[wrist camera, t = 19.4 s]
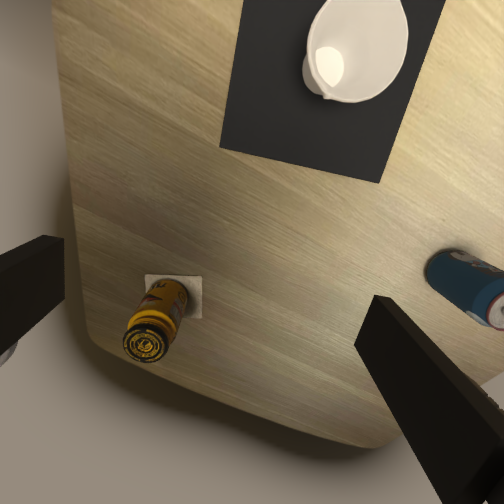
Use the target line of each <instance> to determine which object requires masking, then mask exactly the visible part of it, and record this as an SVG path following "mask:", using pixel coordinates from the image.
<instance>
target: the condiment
mask: <svg viewBox="0 0 504 504" xmlns="http://www.w3.org/2000/svg"><path fill="white" fill-rule="evenodd" d="M145 285H146V295H145V296H144V298H143V300H142V301H141V303H140V305H139V306H138V308H137V309H136V311H135V313H134V314H133V315H132V317H131V319H130V321H129V323H128V330H127V332H126V333H125V335H124V337H123V347H124V350H125V351H126V353H127V354H128V355H129V356H130V357H131V358H132V359H134V360H136V361H139V362H143V363H152V362H156V361H158V360H160V359H161V358H162V357H163V356H164V355H165V354H166V353H167V351H168V348H169V346H170V344H171V343H172V342H173V341H174V339H175V337H176V335H177V332H178V328H179V325H180V322H181V319H182V318H202V276H176V275H151V274H147V275H145Z"/></svg>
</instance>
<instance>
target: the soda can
mask: <svg viewBox="0 0 504 504" xmlns="http://www.w3.org/2000/svg"><path fill="white" fill-rule="evenodd" d="M427 279H428V282H429V284H430V286H431V287H432V288H433V289H434V290H436V291H437V292H438V293H440V294H441V295H442V296H443V297H445V298H446V299H447V300H449V301H450V302H451V303H453V304H454V305H455V306H457V307H458V308H459V309H461V310H462V311H463V312H465V313H466V314H467V315H468V316H470V317H471V318H472V319H474V320H475V321H476V322H478V323H479V324H481V325H483V326H487V327H492V328H494V329H496V330H499V331H504V271H503V270H500V269H498V268H496V267H494V266H492V265H490V264H488V263H486V262H484V261H482V260H480V259H478V258H476V257H474V256H472V255H470V254H468V253H466V252H464V251H459V250H454V251H448V252H444V253H441V254H439V255H437V256H436V257H435V258H433V259H432V261H431V262H430V264H429V265H428V268H427Z"/></svg>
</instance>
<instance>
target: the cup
mask: <svg viewBox="0 0 504 504" xmlns="http://www.w3.org/2000/svg"><path fill="white" fill-rule="evenodd" d="M407 42H408V26H407V19H406V16H405V13H404V10H403V8H402V5H401V2H400V0H327V1H326V2H325V4H324V5H323V6H322V8H321V9H320V10H319V12H318V13H317V15H316V16H315V18H314V20H313V22H312V24H311V28H310V31H309V34H308V39H307V54H306V56H305V58H304V61H303V68H302V73H303V79H304V82H305V84H306V86H307V87H308V88H309V89H310V90H311V91H312V92H313V93H315V94H319V95H323V98H324V99H333V100H336V101H340V102H346V103H357V102H361V101H365V100H369V99H371V98H373V97H374V96H376V95H378V94H379V93H381V92H382V91H383V90H384V89H386V88H387V87H388V86H389V85H390V83H391V82H392V81H393V80H394V79H395V77H396V76H397V74H398V72H399V70H400V68H401V67H402V65H403V62H404V58H405V55H406V50H407Z"/></svg>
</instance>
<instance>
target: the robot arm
mask: <svg viewBox="0 0 504 504" xmlns="http://www.w3.org/2000/svg"><path fill="white" fill-rule="evenodd" d="M64 289H65V285H64V239H63V238H58V237H53V236H47V235H42V236H40V237H37V238H36V239H33V240H31V241H29V242H27V243H25V244H23V245H20V246H18V247H16V248H14V249H12V250H10V251H8V252H6V253H4V254H1V255H0V356H1V355H2V354H3V353H5V352H6V351H7V350H8V349H9V348H10V347H11V346H12V345H13V344H15V343H16V342H17V341H18V340H19V339H20V338H21V337H22V336H24V335H25V334H26V333H27V332H28V331H29V330H30V329H31V328H32V327H34V326H35V325H36V324H37V323H38V322H39V321H40V320H41V319H43V318H44V317H45V316H46V315H47V314H48V313H49V312H50V311H51V310H53V309H54V308H55V307H56V306H57V305H58V304H59V303H60V302H62V301H63V300H64V299H65V296H64V295H65V292H64V291H65V290H64ZM354 346H355V348H356V350H357V351H358V353H359V355H360V357H361V359H362V360H363V362H364V364H365V366H366V368H367V369H368V371H369V373H370V375H371V376H372V378H373V380H374V382H375V384H376V385H377V387H378V389H379V391H380V393H381V394H382V396H383V398H384V400H385V402H386V403H387V405H388V407H389V409H390V410H391V412H392V414H393V416H394V418H395V419H396V421H397V423H398V425H399V427H400V428H401V430H402V432H403V434H404V436H405V437H406V439H407V441H408V443H409V445H410V446H411V448H412V450H413V452H414V453H415V455H416V457H417V459H418V461H419V462H420V464H421V466H422V468H423V470H424V471H425V473H426V475H427V477H428V479H429V480H430V482H431V484H432V486H433V487H434V489H435V491H436V493H437V495H438V496H439V498H440V500H441V502H442V504H483V502H484V501H485V500H486V501H487V502H488V504H504V411H503V409H499V405H498V404H497V403H496V402H494V400H493V399H492V398H491V397H488V394H487V393H486V392H485V391H484V390H483V389H482V388H481V387H480V386H479V385H478V384H477V383H476V382H475V381H474V380H473V379H471V378H470V377H469V376H467V375H466V374H465V373H463V372H462V371H461V370H460V369H459V368H458V367H457V366H456V365H455V364H454V363H453V362H452V361H451V360H450V359H449V358H448V357H447V356H446V355H445V354H444V353H443V352H442V351H441V350H440V348H439V347H438V346H437V345H436V344H435V343H434V342H433V341H432V340H431V339H430V338H429V337H428V336H427V335H426V334H425V333H424V332H423V331H422V330H421V329H420V328H419V327H418V326H417V325H416V324H415V323H414V321H413V320H412V319H411V318H410V317H409V316H408V315H407V314H406V313H405V312H404V311H403V310H402V309H401V308H400V307H399V306H398V305H397V304H396V303H395V302H394V301H393V300H392V299H391V298H390V297H384V296H379V295H374V297H373V300H372V302H371V305H370V307H369V309H368V312H367V314H366V317H365V319H364V322H363V324H362V326H361V329H360V331H359V334H358V336H357V338H356V341H355V343H354Z"/></svg>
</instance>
